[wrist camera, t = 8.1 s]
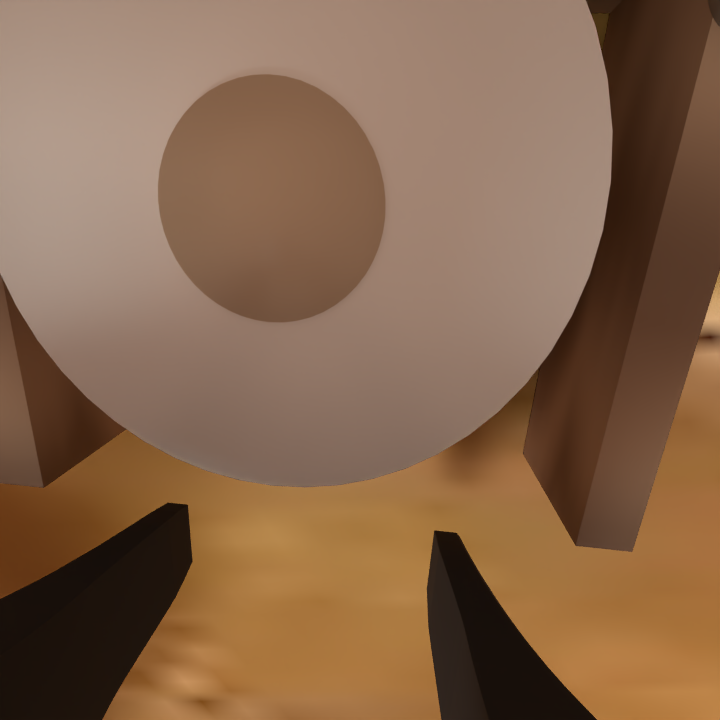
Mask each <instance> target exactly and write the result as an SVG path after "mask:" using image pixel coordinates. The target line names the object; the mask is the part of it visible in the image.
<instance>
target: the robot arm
mask: <svg viewBox="0 0 720 720" xmlns="http://www.w3.org/2000/svg"><path fill="white" fill-rule="evenodd" d="M191 563H192V551H191V539H190V526H189V514H188V505H185V504H175V503H167V504H165V505H163V506H161V507H160V508H158V509H156V510H155V511H153V512H151V513H150V514H148V515H147V516H145V517H144V518H142V519H140V520H139V521H137V522H136V523H134V524H133V525H131V526H129V527H128V528H126V529H125V530H123V531H121V532H120V533H118V534H117V535H115V536H113V537H112V538H110V539H109V540H107V541H105V542H104V543H102V544H101V545H99V546H97V547H96V548H94V549H92V550H91V551H89V552H87V553H86V554H84V555H82V556H80V557H79V558H77V559H75V560H73V561H72V562H70V563H68V564H67V565H65V566H63V567H61V568H60V569H58V570H56V571H54V572H53V573H51V574H49V575H47V576H45V577H43V578H41V579H40V580H38V581H36V582H34V583H32V584H30V585H28V586H26V587H24V588H22V589H20V590H18V591H16V592H14V593H12V594H10V595H8V596H6V597H4V598H2V599H0V720H102V719H103V717H104V715H105V713H106V711H107V709H108V707H109V705H110V704H111V702H112V700H113V698H114V696H115V695H116V693H117V691H118V689H119V688H120V686H121V684H122V682H123V681H124V679H125V677H126V676H127V674H128V673H129V671H130V670H131V668H132V666H133V665H134V663H135V662H136V660H137V658H138V657H139V655H140V654H141V652H142V650H143V649H144V647H145V646H146V644H147V642H148V641H149V639H150V638H151V636H152V634H153V633H154V631H155V630H156V628H157V627H158V625H159V623H160V622H161V620H162V618H163V617H164V615H165V614H166V612H167V610H168V609H169V607H170V605H171V604H172V602H173V600H174V599H175V597H176V595H177V593H178V591H179V589H180V587H181V585H182V583H183V581H184V579H185V577H186V574H187V572H188V570H189V568H190V566H191ZM427 602H428V626H429V634H430V642H431V649H432V656H433V663H434V670H435V677H436V684H437V691H438V698H439V705H440V712H441V719H442V720H597V719H596V718H595V717H594V716H593V715H592V714H591V713H590V712H589V711H588V710H587V709H586V708H585V707H584V706H583V705H582V704H581V703H580V702H579V701H578V700H577V699H576V698H575V696H574V695H573V694H572V693H571V692H570V691H569V690H568V689H567V688H566V687H565V686H564V685H563V684H562V683H561V681H560V680H559V679H558V678H557V677H556V676H555V675H554V674H553V672H552V671H551V670H550V669H549V668H548V667H547V665H546V664H545V663H544V662H543V661H542V659H541V658H540V657H539V656H538V655H537V653H536V652H535V651H534V650H533V648H532V647H531V646H530V645H529V643H528V642H527V641H526V640H525V638H524V637H523V636H522V634H521V633H520V632H519V630H518V629H517V628H516V626H515V625H514V623H513V622H512V621H511V619H510V618H509V617H508V615H507V614H506V612H505V611H504V609H503V608H502V607H501V605H500V604H499V602H498V601H497V599H496V598H495V596H494V595H493V593H492V591H491V590H490V588H489V587H488V585H487V584H486V582H485V581H484V579H483V577H482V576H481V574H480V573H479V571H478V569H477V567H476V566H475V564H474V562H473V561H472V559H471V557H470V555H469V554H468V552H467V550H466V548H465V546H464V544H463V542H462V540H461V538H460V537H459V535H458V534H457V533H453V532H443V531H434V538H433V546H432V553H431V561H430V569H429V577H428V585H427Z"/></svg>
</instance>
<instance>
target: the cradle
mask: <svg viewBox="0 0 720 720" xmlns="http://www.w3.org/2000/svg"><path fill="white" fill-rule="evenodd" d="M586 2H587V5H588V7H589V10H590V13H610V16H609V21H608V26H607V31H606V36H605V41H604V46H603V51H602V56H603V61H604V65H605V70H606V74H607V78H608V88H609V99H610V109H611V120H612V131H613V133H612V162H611V184H610V190H609V196H608V202H607V208H606V214H605V221H604V227H603V232H602V235H601V238H600V242H599V245H598V249H597V252H596V255H595V259H594V262H593V266H592V269H591V272H590V275H589V278H588V280H587V282H586V285H585V287H584V289H583V292H582V294H581V296H580V298H579V301H578V303H577V305H576V308H575V310H574V312H573V315H572V316H571V318H570V320H569V322H568V323H567V325H566V327H565V328H564V330H563V332H562V333H561V335H560V337H559V338H558V340H557V342H556V344H555V345H554V347H553V349H552V350H551V352H550V353H549V355H548V356H547V357H546V359H545V360H544V361H543V362H542V364H541V365H540V370H539V375H538V381H537V386H536V391H535V396H534V401H533V406H532V411H531V416H530V421H529V426H528V431H527V436H526V441H525V446H524V452H523V454H524V456H525V458H526V460H527V461H528V463H529V465H530V467H531V468H532V470H533V472H534V474H535V475H536V477H537V479H538V481H539V482H540V484H541V486H542V488H543V489H544V491H545V493H546V495H547V496H548V498H549V500H550V502H551V503H552V505H553V507H554V509H555V510H556V512H557V514H558V516H559V517H560V519H561V521H562V523H563V524H564V526H565V528H566V530H567V531H568V533H569V535H570V537H571V538H572V540H573V542H574V544H575V545H576V546H583V547H593V548H602V549H611V550H620V551H629V552H632V551H633V548H634V544H635V541H636V538H637V535H638V531H639V528H640V525H641V522H642V519H643V515H644V512H645V509H646V506H647V503H648V499H649V496H650V493H651V490H652V486H653V483H654V480H655V477H656V474H657V470H658V467H659V464H660V461H661V457H662V454H663V451H664V448H665V445H666V441H667V438H668V435H669V432H670V429H671V425H672V422H673V419H674V416H675V412H676V409H677V406H678V403H679V400H680V396H681V393H682V390H683V387H684V384H685V380H686V377H687V374H688V371H689V367H690V364H691V361H692V358H693V355H694V351H695V348H696V345H697V342H698V339H699V335H700V332H701V329H702V326H703V322H704V319H705V316H706V313H707V310H708V306H709V303H710V300H711V297H712V294H713V290H714V287H715V284H716V281H717V277H718V274H719V271H720V0H586ZM124 430H126V429H125V428H124V427H123V426H121V425H120V424H118V423H117V422H115V421H114V420H113V419H112V418H110V417H109V416H108V415H107V414H106V413H105V412H103V411H102V410H101V409H100V408H99V407H97V406H96V405H95V404H94V403H93V402H92V401H90V400H89V399H88V398H87V397H86V396H85V395H84V394H83V393H82V392H81V391H80V390H79V389H78V388H77V387H76V386H75V385H74V383H73V382H72V381H71V380H70V379H69V378H68V377H67V376H66V375H65V374H64V373H63V372H62V371H61V370H60V368H59V367H58V366H57V365H56V363H55V362H54V361H53V359H52V358H51V357H50V356H49V354H48V353H47V352H46V350H45V349H44V348H43V347H42V345H41V344H40V343H39V341H38V340H37V338H36V337H35V335H34V334H33V332H32V331H31V329H30V327H29V326H28V324H27V323H26V321H25V319H24V318H23V316H22V315H21V313H20V311H19V310H18V308H17V306H16V304H15V302H14V300H13V298H12V296H11V294H10V292H9V290H8V288H7V286H6V284H5V282H4V280H3V278H2V276H1V274H0V483H4V484H13V485H23V486H32V487H41V488H44V487H46V486H47V485H48V484H50V483H51V482H53V481H54V480H55V479H57V478H58V477H60V476H61V475H62V474H64V473H65V472H67V471H68V470H69V469H71V468H72V467H74V466H75V465H76V464H78V463H79V462H81V461H82V460H84V459H85V458H86V457H88V456H89V455H91V454H92V453H93V452H95V451H96V450H98V449H99V448H100V447H102V446H103V445H105V444H106V443H107V442H109V441H110V440H112V439H113V438H115V437H116V436H117V435H119V434H120V433H122V432H123V431H124Z"/></svg>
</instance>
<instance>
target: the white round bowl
mask: <svg viewBox="0 0 720 720" xmlns="http://www.w3.org/2000/svg"><path fill="white" fill-rule="evenodd" d="M612 133H613V131H612V120H611V109H610V99H609V88H608V78H607V74H606V70H605V65H604V61H603V56H602V52H601V48H600V43H599V39H598V34H597V30H596V26H595V23H594V21H593V18H592V15H591V13H590V10H589V7H588V5H587V2H586V0H0V274H1V276H2V278H3V280H4V282H5V284H6V286H7V288H8V290H9V292H10V294H11V296H12V298H13V300H14V302H15V304H16V306H17V308H18V310H19V311H20V313H21V315H22V316H23V318H24V319H25V321H26V323H27V324H28V326H29V327H30V329H31V331H32V332H33V334H34V335H35V337H36V338H37V340H38V341H39V343H40V344H41V345H42V347H43V348H44V349H45V350H46V352H47V353H48V354H49V356H50V357H51V358H52V359H53V361H54V362H55V363H56V365H57V366H58V367H59V368H60V370H61V371H62V372H63V373H64V374H65V375H66V376H67V377H68V378H69V379H70V380H71V381H72V382H73V383H74V385H75V386H76V387H77V388H78V389H79V390H80V391H81V392H82V393H83V394H84V395H85V396H86V397H87V398H88V399H89V400H90V401H92V402H93V403H94V404H95V405H96V406H97V407H99V408H100V409H101V410H102V411H103V412H105V413H106V414H107V415H108V416H109V417H110V418H112V419H113V420H114V421H115V422H117V423H118V424H120V425H121V426H123V427H124V428H125V429H127V430H128V431H130V432H131V433H133V434H134V435H136V436H137V437H139V438H140V439H141V440H143V441H145V442H146V443H148V444H150V445H152V446H154V447H156V448H158V449H159V450H161V451H163V452H165V453H167V454H169V455H170V456H172V457H174V458H177V459H179V460H181V461H184V462H186V463H189V464H191V465H194V466H196V467H199V468H201V469H203V470H206V471H209V472H213V473H216V474H220V475H223V476H227V477H230V478H234V479H237V480H242V481H248V482H254V483H260V484H266V485H273V486H292V487H316V486H332V485H342V484H347V483H353V482H358V481H364V480H369V479H374V478H377V477H380V476H383V475H386V474H390V473H393V472H396V471H399V470H403V469H406V468H408V467H410V466H412V465H415V464H417V463H419V462H421V461H423V460H426V459H428V458H430V457H432V456H435V455H437V454H439V453H440V452H442V451H444V450H445V449H447V448H449V447H450V446H452V445H453V444H455V443H457V442H458V441H460V440H462V439H463V438H465V437H467V436H468V435H470V434H471V433H472V432H473V431H475V430H476V429H477V428H479V427H480V426H481V425H482V424H484V423H485V422H486V421H487V420H489V419H490V418H491V417H493V416H494V415H495V414H496V413H498V412H499V411H500V410H501V409H502V408H503V407H504V406H505V405H506V404H507V403H508V402H509V401H510V400H511V399H512V398H513V397H514V396H515V395H516V394H517V393H518V391H519V390H520V389H521V388H522V387H523V386H524V385H525V384H526V383H527V382H528V381H529V379H530V378H531V377H532V375H533V374H534V373H535V371H536V370H537V369H538V368H539V366H540V365H541V364H542V362H543V361H544V360H545V359H546V357H547V356H548V355H549V353H550V352H551V350H552V349H553V347H554V345H555V344H556V342H557V340H558V338H559V337H560V335H561V333H562V332H563V330H564V328H565V327H566V325H567V323H568V322H569V320H570V318H571V316H572V315H573V312H574V310H575V308H576V305H577V303H578V301H579V298H580V296H581V294H582V292H583V289H584V287H585V285H586V282H587V280H588V278H589V275H590V272H591V269H592V266H593V262H594V259H595V255H596V252H597V249H598V245H599V242H600V238H601V235H602V232H603V227H604V221H605V214H606V208H607V202H608V196H609V190H610V184H611V162H612Z"/></svg>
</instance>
